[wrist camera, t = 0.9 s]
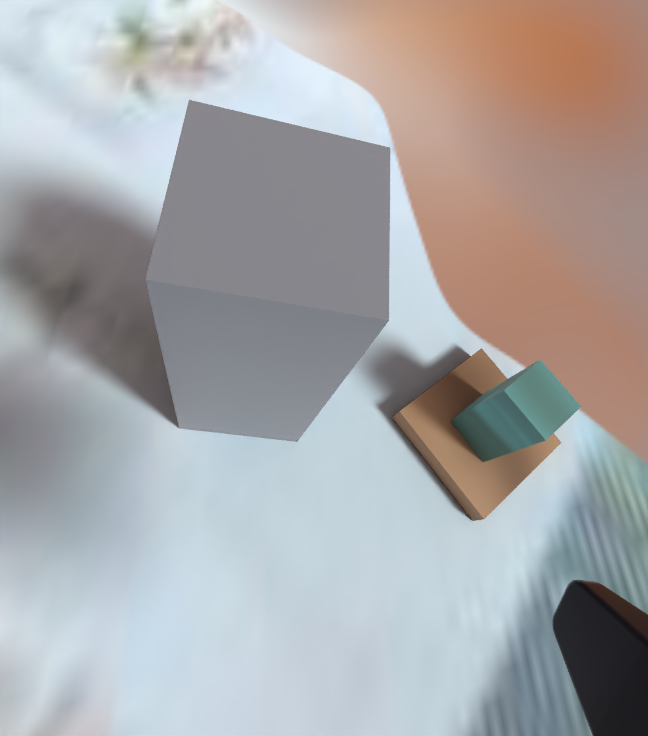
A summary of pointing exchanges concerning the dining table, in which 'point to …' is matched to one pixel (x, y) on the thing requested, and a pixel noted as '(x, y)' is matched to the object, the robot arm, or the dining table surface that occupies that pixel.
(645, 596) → the dining table surface
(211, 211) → the tall grey pillar
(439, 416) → the post plinth
